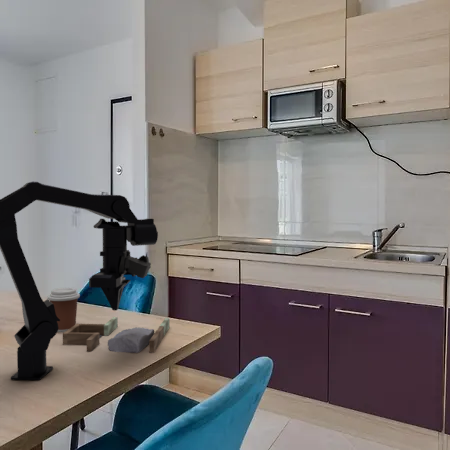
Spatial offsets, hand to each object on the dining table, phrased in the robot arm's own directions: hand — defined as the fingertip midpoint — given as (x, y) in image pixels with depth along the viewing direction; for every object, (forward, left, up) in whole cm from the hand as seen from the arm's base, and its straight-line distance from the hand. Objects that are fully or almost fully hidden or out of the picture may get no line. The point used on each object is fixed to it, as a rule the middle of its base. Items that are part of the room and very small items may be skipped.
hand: (115, 310), depth 100 cm
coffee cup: (+23, +23, -12) cm, 34 cm away
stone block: (+9, -1, -12) cm, 15 cm away
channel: (+15, +4, -12) cm, 19 cm away
